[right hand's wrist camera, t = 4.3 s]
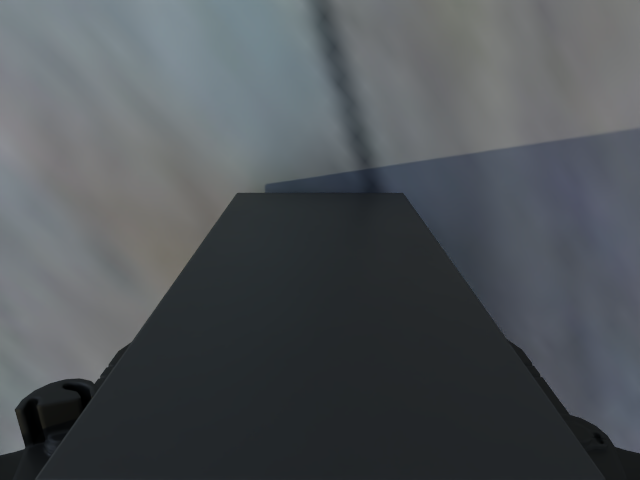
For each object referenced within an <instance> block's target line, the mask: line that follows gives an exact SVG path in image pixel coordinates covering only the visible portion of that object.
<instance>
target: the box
mask: <svg viewBox="0 0 640 480" xmlns="http://www.w3.org/2000/svg"><path fill="white" fill-rule="evenodd" d="M35 480H606V479H605V478H604V476H603V475H602V473H601V472H600V470H599V469H598V468H597V466H596V465H595V463H594V462H593V461H592V459H591V458H590V456H589V455H588V454H587V452H586V451H585V449H584V448H583V446H582V445H581V444H580V442H579V441H578V439H577V438H576V437H575V435H574V434H573V432H572V431H571V430H570V428H569V427H568V425H567V424H566V422H565V421H564V420H563V418H562V417H561V415H560V414H559V413H558V411H557V410H556V408H555V407H554V405H553V404H552V403H551V401H550V400H549V398H548V397H547V396H546V394H545V393H544V391H543V390H542V389H541V387H540V386H539V384H538V383H537V381H536V380H535V379H534V377H533V376H532V374H531V373H530V372H529V370H528V369H527V367H526V366H525V365H524V363H523V362H522V360H521V359H520V357H519V356H518V355H517V353H516V352H515V350H514V349H513V348H512V346H511V345H510V343H509V342H508V341H507V339H506V338H505V336H504V335H503V333H502V332H501V331H500V329H499V328H498V326H497V325H496V324H495V322H494V321H493V319H492V318H491V317H490V315H489V314H488V312H487V311H486V309H485V308H484V307H483V305H482V304H481V302H480V301H479V300H478V298H477V297H476V295H475V294H474V292H473V291H472V290H471V288H470V287H469V285H468V284H467V283H466V281H465V280H464V278H463V277H462V276H461V274H460V273H459V271H458V270H457V268H456V267H455V266H454V264H453V263H452V261H451V260H450V259H449V257H448V256H447V254H446V253H445V252H444V250H443V249H442V247H441V246H440V244H439V243H438V242H437V240H436V239H435V237H434V236H433V235H432V233H431V232H430V230H429V229H428V228H427V226H426V225H425V223H424V222H423V220H422V219H421V218H420V216H419V215H418V213H417V212H416V211H415V209H414V208H413V206H412V205H411V204H410V202H409V201H408V199H407V198H406V196H405V195H404V194H403V193H237V194H236V195H235V197H234V198H233V200H232V201H231V202H230V204H229V205H228V207H227V208H226V209H225V211H224V212H223V214H222V215H221V217H220V218H219V219H218V221H217V222H216V224H215V225H214V226H213V228H212V229H211V231H210V232H209V234H208V235H207V236H206V238H205V239H204V241H203V242H202V243H201V245H200V246H199V248H198V249H197V251H196V252H195V253H194V255H193V256H192V258H191V259H190V260H189V262H188V263H187V265H186V266H185V268H184V269H183V270H182V272H181V273H180V275H179V276H178V277H177V279H176V280H175V282H174V283H173V284H172V286H171V287H170V289H169V290H168V292H167V293H166V294H165V296H164V297H163V299H162V300H161V301H160V303H159V304H158V306H157V307H156V309H155V310H154V311H153V313H152V314H151V316H150V317H149V318H148V320H147V321H146V323H145V324H144V326H143V327H142V328H141V330H140V331H139V333H138V334H137V335H136V337H135V338H134V340H133V341H132V343H131V344H130V345H129V347H128V348H127V350H126V351H125V352H124V354H123V355H122V357H121V358H120V360H119V361H118V362H117V364H116V365H115V367H114V368H113V369H112V371H111V372H110V374H109V375H108V376H107V378H106V379H105V381H104V382H103V384H102V385H101V386H100V388H99V389H98V391H97V392H96V393H95V395H94V396H93V398H92V399H91V401H90V402H89V403H88V405H87V406H86V408H85V409H84V410H83V412H82V413H81V415H80V416H79V418H78V419H77V420H76V422H75V423H74V425H73V426H72V427H71V429H70V430H69V432H68V433H67V435H66V436H65V437H64V439H63V440H62V442H61V443H60V444H59V446H58V447H57V449H56V450H55V451H54V453H53V454H52V456H51V457H50V459H49V460H48V461H47V463H46V464H45V466H44V467H43V468H42V470H41V471H40V473H39V474H38V476H37V477H36V478H35Z"/></svg>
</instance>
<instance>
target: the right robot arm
mask: <svg viewBox="0 0 640 480" xmlns="http://www.w3.org/2000/svg"><path fill="white" fill-rule="evenodd" d="M507 341H508V342H509V343H510V345H511V346H512V348H513V349H514V350H515V352H516V353H517V355H518V356H519V357H520V359H521V360H522V362H523V363H524V365H525V366H526V367H527V369H528V370H529V372H530V373H531V374H532V376H533V377H534V379H535V380H536V381H537V383H538V384H539V386H540V387H541V389H542V390H543V391H544V393H545V394H546V396H547V397H548V398H549V400H550V401H551V403H552V404H553V405H554V407H555V408H556V410H557V411H558V413H559V414H560V415H561V417H562V418H563V420H564V421H565V422H566V424H567V425H568V427H569V428H570V430H571V431H572V432H573V434H574V435H575V437H576V438H577V439H578V441H579V442H580V444H581V445H582V446H583V448H584V449H585V451H586V452H587V454H588V455H589V456H590V458H591V459H592V461H593V462H594V463H595V465H596V466H597V468H598V469H599V470H600V472H601V473H602V475H603V476H604V478H605V479H606V480H640V453H635V452H631V451H627V450H623V449H620V448H617V447H615V446H614V445H613V443H612V442H611V440H610V439H609V437H608V436H607V435H606V434H605V433H604V432H602V431H601V430H600V429H599V428H598V427H596V426H595V425H593V424H591V423H589V422H587V421H585V420H583V419H582V418H578V417H575V416H571V415H570V414H569V413H568V412H567V410H566V409H565V407H564V406H563V405H562V403H561V402H560V401H559V399H558V398H557V397H556V395H555V394H554V393H553V391H552V390H551V388H550V387H549V386H548V384H547V383H546V382H545V380H544V379H543V378H542V377H540V373H539V372H538V371H537V369H536V368H535V367H534V366H532V363H531V361H530V360H529V359H528V357H527V356H526V354H525V353H524V352H523V350H522V349H520V348H519V347H517V346H516V345H514V344H513V343H511V342H510V341H509V340H507ZM131 343H132V342H131ZM131 343H130V344H131ZM130 344H128V345H127V346H125V347H124V348H122V349H121V350H120V351H118V353H117V354H116V355H115V357H114V358H113V359H112V361H111V362H110V364H109V367H107V368H106V369H105V370H104V372H103V373H102V374H101V376H100V379H98V380H97V381H96V383H95V384H94V383H93V382H91V381H89V380H84V379H65V380H61V381H58V382H54V383H50V384H48V385H46V386H44V387H41V388H39V389H37V390H35V391H34V392H32V393H31V394H29V395H28V396H27V397H25V398H24V399H23V400H22V401H21V402H20V404H19V405H18V406H17V407H16V409H15V412H16V416H17V419H18V423H19V426H20V430H21V433H22V437H23V440H24V444H25V449H23V450H20V451H17V452H13V453H9V454H5V455H0V480H35V478H36V477H37V476H38V474H39V473H40V471H41V470H42V468H43V467H44V466H45V464H46V463H47V461H48V460H49V459H50V457H51V456H52V454H53V453H54V451H55V450H56V449H57V447H58V446H59V444H60V443H61V442H62V440H63V439H64V437H65V436H66V435H67V433H68V432H69V430H70V429H71V427H72V426H73V425H74V423H75V422H76V420H77V419H78V418H79V416H80V415H81V413H82V412H83V410H84V409H85V408H86V406H87V405H88V403H89V402H90V401H91V399H92V398H93V396H94V395H95V393H96V392H97V391H98V389H99V388H100V386H101V385H102V384H103V382H104V381H105V379H106V378H107V376H108V375H109V374H110V372H111V371H112V369H113V368H114V367H115V365H116V364H117V362H118V361H119V360H120V358H121V357H122V355H123V354H124V352H125V351H126V350H127V348H128V347H129V345H130Z"/></svg>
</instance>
